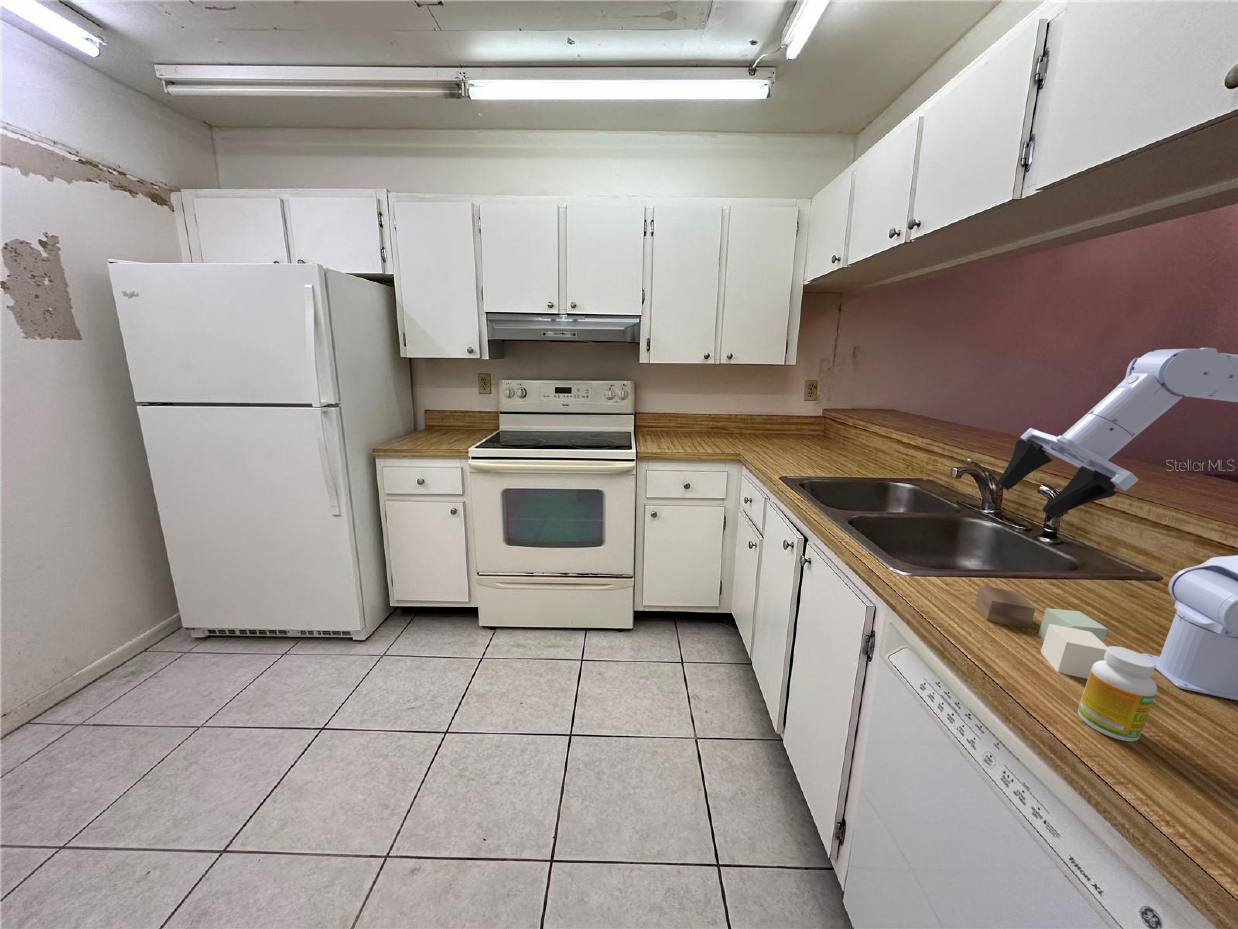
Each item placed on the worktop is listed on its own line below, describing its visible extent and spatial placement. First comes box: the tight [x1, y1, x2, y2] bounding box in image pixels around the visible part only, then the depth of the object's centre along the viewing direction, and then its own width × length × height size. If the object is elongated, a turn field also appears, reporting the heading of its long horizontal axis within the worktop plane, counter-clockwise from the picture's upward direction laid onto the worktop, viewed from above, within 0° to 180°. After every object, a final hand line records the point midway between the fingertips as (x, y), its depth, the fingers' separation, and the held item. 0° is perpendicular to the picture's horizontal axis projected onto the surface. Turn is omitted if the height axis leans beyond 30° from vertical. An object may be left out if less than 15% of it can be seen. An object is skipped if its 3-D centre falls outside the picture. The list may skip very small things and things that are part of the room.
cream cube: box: [1040, 624, 1109, 680], centre depth 68 cm, size 5×5×5 cm
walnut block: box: [974, 584, 1036, 630], centre depth 81 cm, size 6×6×4 cm
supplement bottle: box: [1077, 645, 1158, 742], centre depth 56 cm, size 5×5×10 cm
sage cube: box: [1037, 608, 1109, 644], centre depth 73 cm, size 5×5×5 cm
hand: (1023, 499), depth 68 cm, fingers open, 7 cm apart
